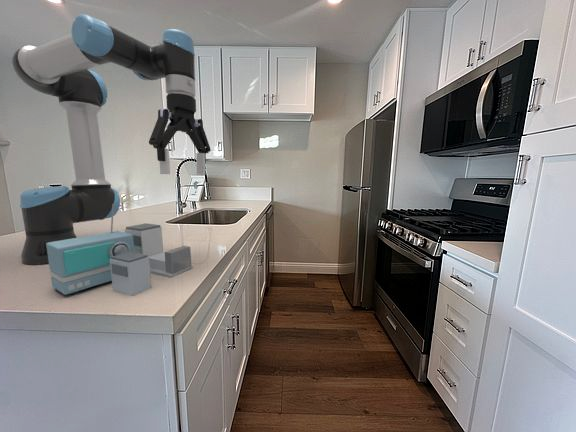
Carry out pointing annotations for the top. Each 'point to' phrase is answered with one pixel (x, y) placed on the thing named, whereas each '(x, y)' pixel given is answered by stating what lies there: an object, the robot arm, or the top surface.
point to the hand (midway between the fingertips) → (184, 174)
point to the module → (130, 273)
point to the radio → (85, 259)
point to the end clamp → (176, 258)
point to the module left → (146, 238)
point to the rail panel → (160, 267)
